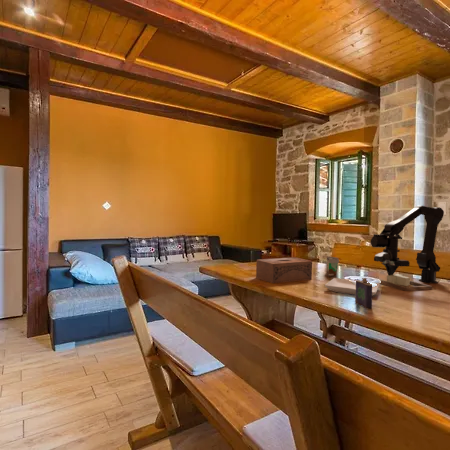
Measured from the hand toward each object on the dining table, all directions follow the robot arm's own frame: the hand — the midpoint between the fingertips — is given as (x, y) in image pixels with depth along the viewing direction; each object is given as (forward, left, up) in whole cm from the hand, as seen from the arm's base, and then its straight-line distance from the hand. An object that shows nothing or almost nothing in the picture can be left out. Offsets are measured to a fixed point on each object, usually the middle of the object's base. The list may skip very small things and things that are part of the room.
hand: (390, 277), depth 167 cm
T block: (-1, +5, -3) cm, 6 cm away
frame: (0, +9, -3) cm, 9 cm away
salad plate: (+32, +12, -3) cm, 34 cm away
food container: (+20, -21, -3) cm, 29 cm away
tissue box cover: (+52, -18, -3) cm, 55 cm away
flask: (+44, +34, -3) cm, 56 cm away
